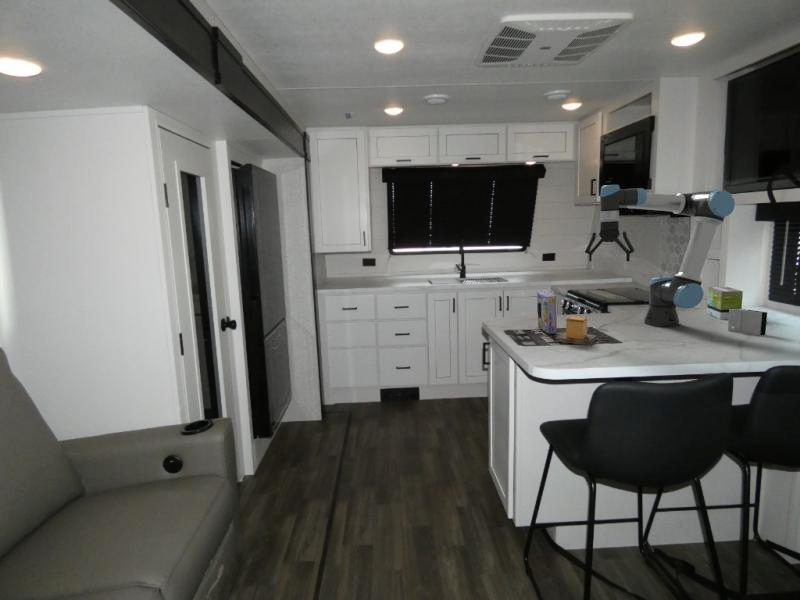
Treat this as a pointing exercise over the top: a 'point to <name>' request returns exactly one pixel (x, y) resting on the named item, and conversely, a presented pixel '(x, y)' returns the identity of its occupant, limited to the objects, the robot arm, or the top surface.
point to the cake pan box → (547, 312)
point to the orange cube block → (576, 327)
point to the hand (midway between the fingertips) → (609, 268)
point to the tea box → (723, 301)
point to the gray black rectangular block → (747, 321)
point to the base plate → (576, 339)
